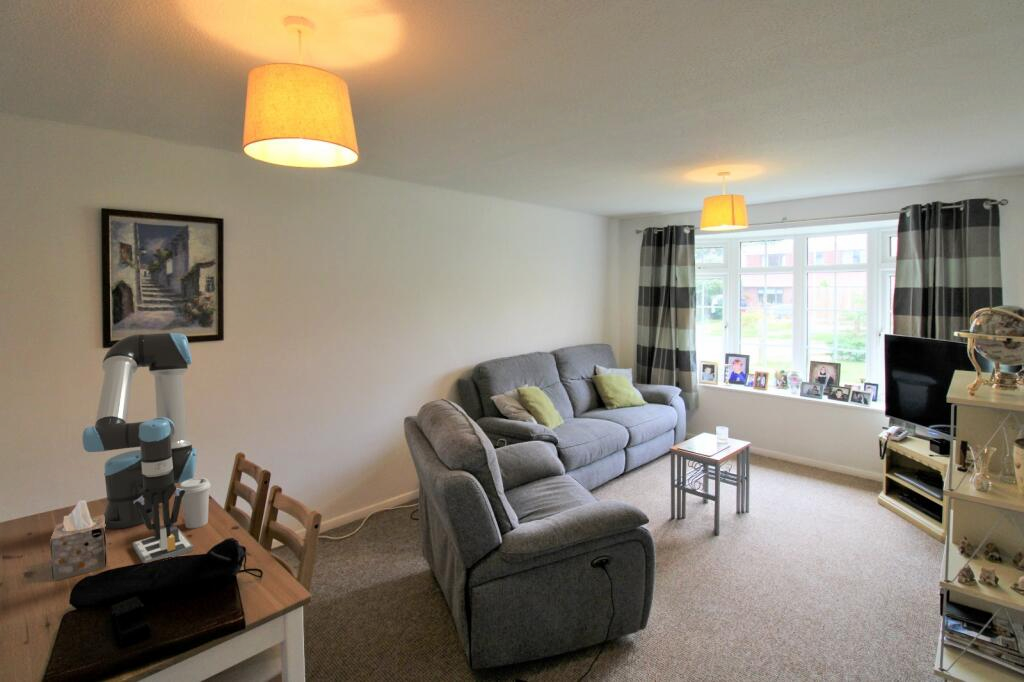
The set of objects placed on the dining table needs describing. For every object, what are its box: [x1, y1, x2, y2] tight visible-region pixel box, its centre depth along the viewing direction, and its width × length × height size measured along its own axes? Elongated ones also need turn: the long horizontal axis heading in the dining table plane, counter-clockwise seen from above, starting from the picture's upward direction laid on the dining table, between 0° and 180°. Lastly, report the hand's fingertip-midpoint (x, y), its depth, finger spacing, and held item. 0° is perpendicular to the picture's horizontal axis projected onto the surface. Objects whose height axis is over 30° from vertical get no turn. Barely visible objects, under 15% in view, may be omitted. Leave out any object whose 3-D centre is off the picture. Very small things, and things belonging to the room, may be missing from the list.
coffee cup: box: [178, 477, 212, 529], centre depth 174 cm, size 10×10×15 cm
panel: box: [132, 523, 194, 564], centre depth 158 cm, size 16×12×6 cm
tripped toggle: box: [166, 534, 175, 551], centre depth 155 cm, size 2×2×4 cm
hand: (163, 547), depth 154 cm, fingers closed
